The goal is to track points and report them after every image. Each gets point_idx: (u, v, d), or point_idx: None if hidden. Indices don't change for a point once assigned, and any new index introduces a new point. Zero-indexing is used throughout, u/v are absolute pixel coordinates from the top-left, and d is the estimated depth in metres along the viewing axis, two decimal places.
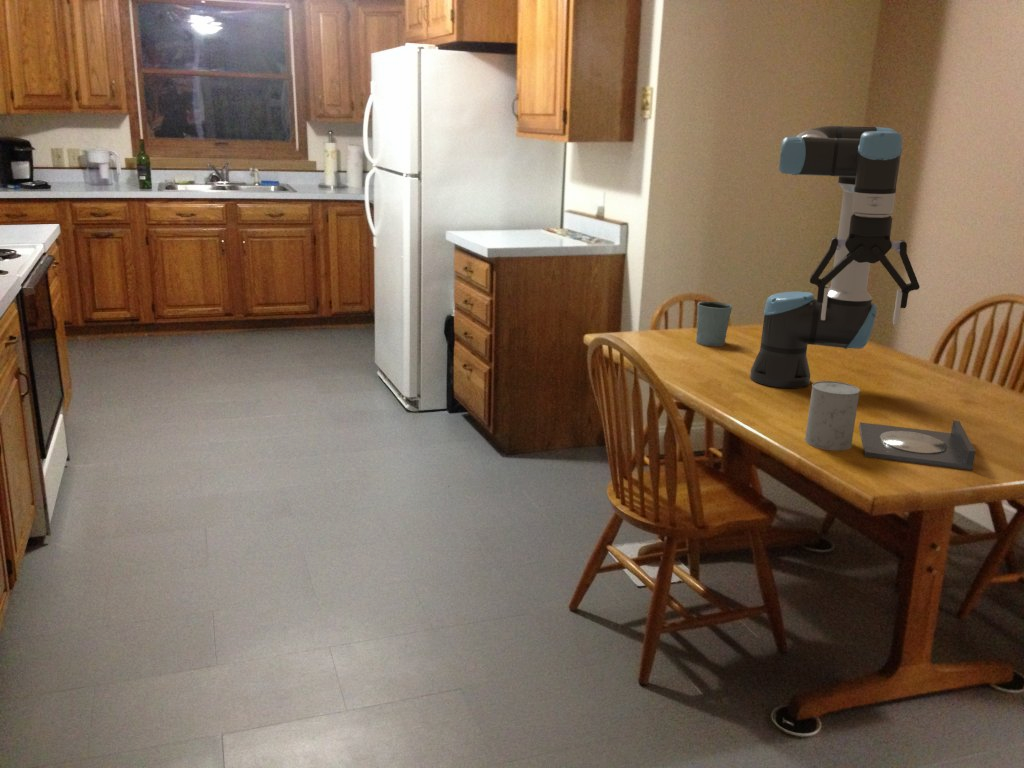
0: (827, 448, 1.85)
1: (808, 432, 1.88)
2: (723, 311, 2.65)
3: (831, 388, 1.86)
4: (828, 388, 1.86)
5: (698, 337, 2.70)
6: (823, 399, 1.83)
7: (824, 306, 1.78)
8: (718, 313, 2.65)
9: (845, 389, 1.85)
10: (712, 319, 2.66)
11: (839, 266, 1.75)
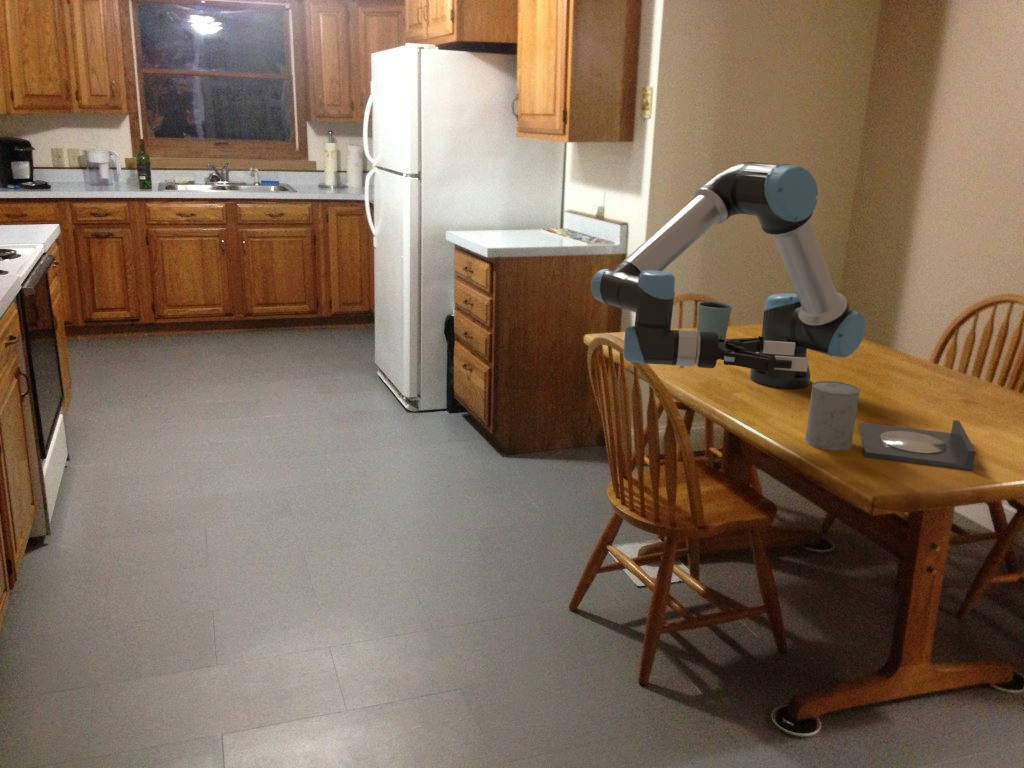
0: (827, 448, 1.85)
1: (808, 432, 1.88)
2: (723, 311, 2.65)
3: (831, 388, 1.86)
4: (828, 388, 1.86)
5: None
6: (823, 399, 1.83)
7: None
8: (718, 313, 2.65)
9: (845, 389, 1.85)
10: (712, 319, 2.66)
11: None
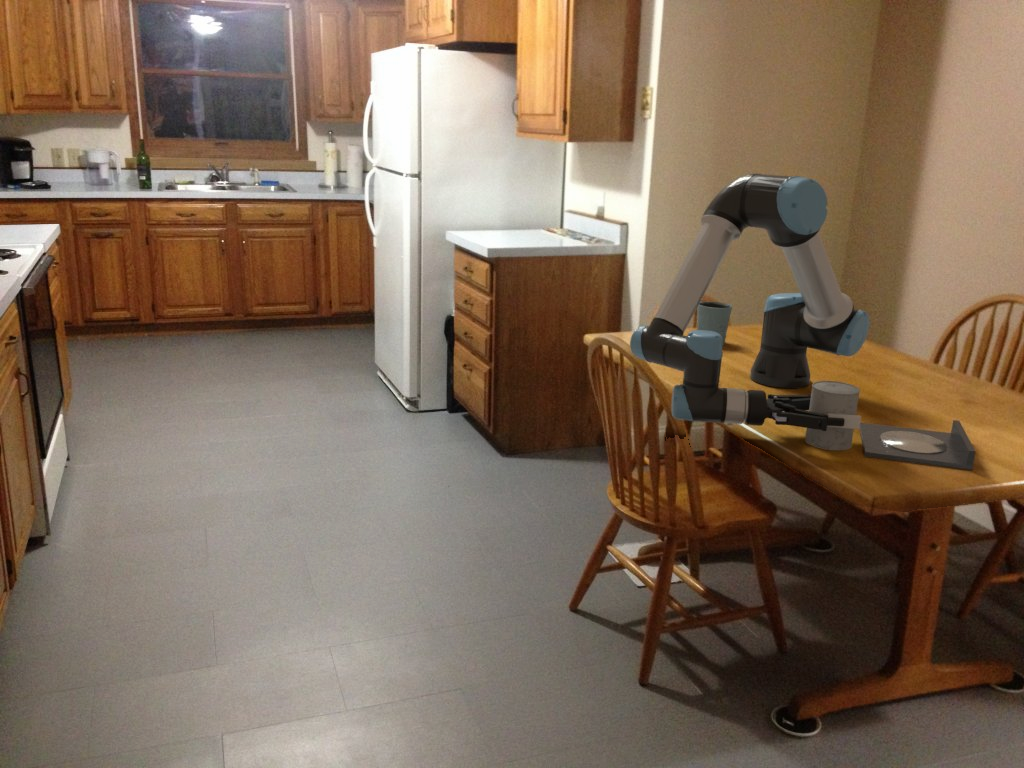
0: (827, 448, 1.85)
1: (808, 432, 1.88)
2: (723, 311, 2.65)
3: (831, 387, 1.86)
4: (828, 388, 1.86)
5: None
6: (823, 399, 1.83)
7: None
8: (718, 313, 2.65)
9: (845, 389, 1.85)
10: (712, 319, 2.66)
11: None
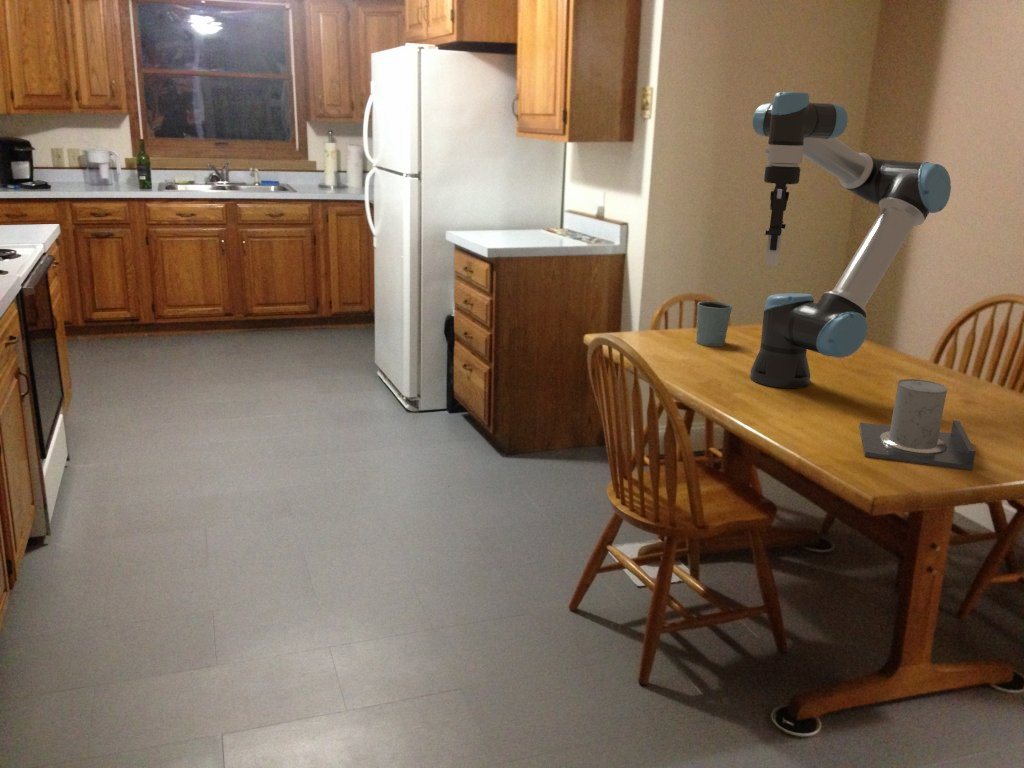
0: (914, 447, 1.84)
1: (893, 430, 1.87)
2: (723, 311, 2.65)
3: (917, 386, 1.85)
4: (914, 386, 1.84)
5: (698, 337, 2.70)
6: (910, 397, 1.82)
7: None
8: (718, 313, 2.65)
9: (932, 387, 1.84)
10: (712, 319, 2.66)
11: None
